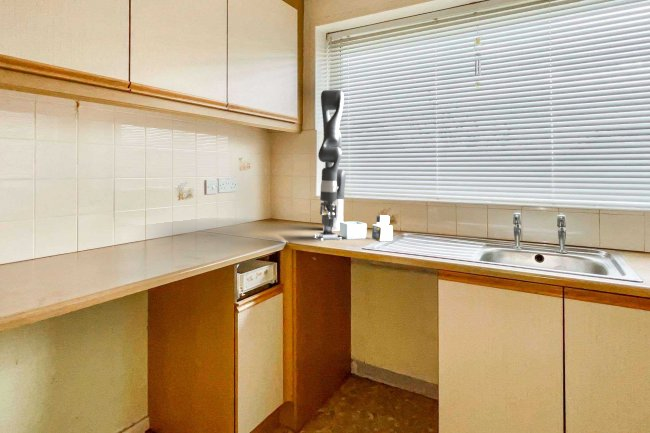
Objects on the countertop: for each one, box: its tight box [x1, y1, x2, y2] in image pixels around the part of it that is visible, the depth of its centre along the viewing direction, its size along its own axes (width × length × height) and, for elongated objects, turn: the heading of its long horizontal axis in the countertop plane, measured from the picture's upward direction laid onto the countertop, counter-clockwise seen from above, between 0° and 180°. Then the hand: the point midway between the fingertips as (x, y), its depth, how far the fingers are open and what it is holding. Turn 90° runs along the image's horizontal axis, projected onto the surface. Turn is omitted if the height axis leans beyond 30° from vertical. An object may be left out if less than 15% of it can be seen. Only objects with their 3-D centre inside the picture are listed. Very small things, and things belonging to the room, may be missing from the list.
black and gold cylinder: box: [322, 211, 333, 235], centre depth 177 cm, size 5×5×13 cm
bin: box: [338, 221, 368, 240], centre depth 182 cm, size 9×10×8 cm
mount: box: [311, 231, 345, 242], centre depth 178 cm, size 12×12×3 cm
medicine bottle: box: [371, 214, 394, 242], centre depth 184 cm, size 7×7×12 cm
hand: (327, 225), depth 177 cm, fingers open, 8 cm apart
